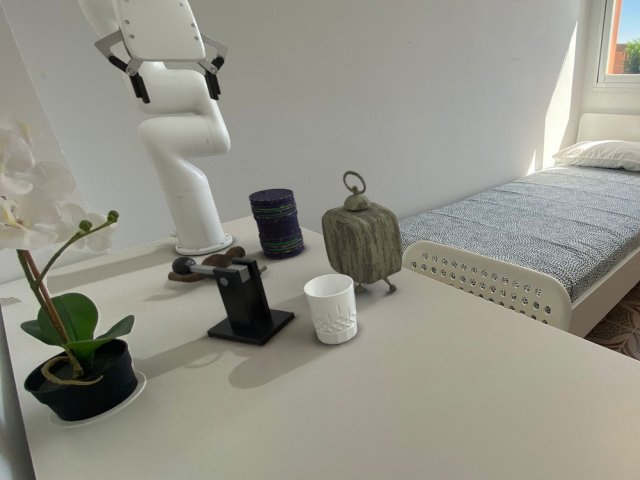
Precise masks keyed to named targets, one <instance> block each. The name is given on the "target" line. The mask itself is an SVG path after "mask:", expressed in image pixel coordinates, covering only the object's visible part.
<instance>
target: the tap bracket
mask: <svg viewBox="0 0 640 480" xmlns="http://www.w3.org/2000/svg"><path fill="white" fill-rule="evenodd" d="M231 262H232V265H233V264H237V265H245V266H247V267H248V271H249V274H250V279H248V280H246V281H245V282H242V279H241V275H240V272H239V270H236V269H228V268H221V267H216V268H214V269H212V271H213V274H214V280H215V283H216V287H217V288H218V292H219V295H220V298H221V301H222V304H223V307H224V310H225V314H226V317H225V318H223V319H222V320H221V321H219V322H218V323H216V324H215V325H213V326H212V327H211V328H209V329H208V330H206V334H207V336H208V338H212V339H213V338H214V339H220V340H224V341H231V342H236V343H241V344H247V345H253V346H257V347H258V346H259V347H263V346H264V345H265V344H267V343H268V342H269V341H270V340H271V339H273V337H275V336H276V335H277V334H278V333H279V332H281V331H282V330H283V329H285V328H286V326H288V325H289V324H290V323H291V322H292V321H293V320H294V319H295V318H296V316H295V312H293V311H286V310H280V309H274V308H270V305H269V302H268V298H267V294H266V291H265V287H264V283H263V280H262V275H260V272H259V269H260V268H259V265H258V261H257V259H254V258H246V257H243V258H239V257H234V258H232V259H231Z"/></svg>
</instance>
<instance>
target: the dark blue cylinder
mask: <svg viewBox="0 0 640 480" xmlns="http://www.w3.org/2000/svg"><path fill="white" fill-rule="evenodd" d="M294 194H295V193H294V191H293V190H292V189H290V188H269V189H262V190H258V191H255V192H252V193H251V194H249V195H248V200H249V204H250V209H251V213H252V215H253V216H252V217H253V219H254V221H255V222H256V227H257V230H258V239H259V244H260V247H261V250H262V252H263V253H262V254H263V256H264V257H263V258H265V259H268V260H275V261H276V260H277V261H279V260H288V259H291V258H294V257H297V256H299V255H301V254H303V253H304V252H305V250H306V248H305V247H306V246H305V244H304V243H305V242H304V235H303V232H302V228H301V227H300V224H299V218H298V214H299V213H298V209H297V206H298V205H297V202H296V199H295V197H294V196H295V195H294Z"/></svg>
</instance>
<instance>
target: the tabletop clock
mask: <svg viewBox="0 0 640 480" xmlns="http://www.w3.org/2000/svg"><path fill="white" fill-rule="evenodd" d="M348 175H351V176H355V177H356V178H358V179H359V180H360V182H361V184H362V186H363V189H362V190H359V187H358V186H357V185H352V187H351V186H350V185H349V184H348V183H347V179H346V178H347V176H348ZM342 182H343V184H344V186H345V188H346V189H347V190H348V191H349V192H351V193H352V194H350V195H348V196H347V197H346V198H345V200H344V201H343V205H340V206H337V207H333V208H330V209H327V210H326V211H325V213H324V214H323V215H322V216H321V229H322V236H323V242H324V246H325V247H324V248H325V252H326V256H327V259H328V263H329V265H330V267H331V268H332V269H333V271H334V272H336V274H343V275H347V276H349V277H351V278H352V280H353V283H357V285H356V286H355V287H354V290H355V292H357V293H362V292H363V291H364V286H363V285H362V284H364V285H373V284H375V283H377V282H379V281H381V280H383V281H384V282H385V283H386V284H387V285H388V286H389V287H388V289H389V291H390V292H396V291H397V290H398V286H397V285H396V284H395V283H391V281H390V280H389V278H388V277H390V276H392V275H395V274H397V273H400V272H401V271H402V268H403V244H402V243H403V242H402V237H401V231H400V230H401V229H400V226H399V222H398V218H397V216H396V213H394V212H393V211H392V210H391V209H389V208H387V207H385V206H383V205H381V204H378V203H376V202H373V201H370V199H369V198H368V197H367V196H366V195H364V194H365V193H366V191H367V184H366V181H365V179H364V177H363V176H362V175H361V174H359V172H356V171H353V170H347V171H345V172H344V174H343V175H342Z"/></svg>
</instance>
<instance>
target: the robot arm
mask: <svg viewBox="0 0 640 480" xmlns="http://www.w3.org/2000/svg"><path fill="white" fill-rule="evenodd" d="M77 2H78V3H77V4H78V5H79V6H80V9H81V11H82V13H83V15H84V16H85V19H86V20H87V21H88V23H89V25H90V26H91V28H92V29H93V30H94V31H95V33H96V34H97V35H98V37H99V38H100V39H98V40H96V41H95V42H93V46H94V48H95V49H96V50H97V51H98V52H99V53H100V54H101V55H102V56H103V57H104V58H105V59H106V61H108V63H110V64H111V65H113V66H114V67H115V68H117V69H119V72H120V75H121V76H122V79H123V81H124V84H125V86H126V90H127V91H128V94H129V96H130V98H131V100H132V102H133V104H134V105H135V107H136V108H137V110H138V111H139V112H142V113H143V114H146V115H151V116H153V115H154V116H161V117H153V118H148V119H146V120H143V121H141V122H140V123H139V124H138V127H137V128H136V129H137V130H136V133H137V138H138V140H139V142H140V144H141V146H142V148H143V150H144V152H145V154H146V155H147V157H148V159H149V161H150V163H151V165H152V167H153V169H154V172H155V175H156V177H157V180H158V182H159V184H160V187H161V190H162V193H163V195H164V198H165V202H166V205H167V207H168V209H169V213H170V215H171V218H172V221H173V223H174V224H173V225H174V226H175V227H174V228H173V231H170V233H169V236H170V237H171V238H177V241H178V242H177V243H176V244H175V246H174V247H175V251H176V253H177V254H180V255H183V256H200V255H206V254H211V253H214V252H219V251H221V250H223V249H225V248H227V247H229V246H230V245H231V244H232V243H233V237H232V235H231V234H229V233H226V232H224V230H223V227H222V223H221V220H220V217H219V213H218V210H217V206H216V203H215V200H214V197H213V194H212V190H211V187H210V183H209V181H208V177H207V176H206V174H205V173H204V171H202V170H201V169H199V168H198V167H197V166H195V165H194V164H192V163H190V162H189V160H194V159H199V158H209V157H217V156H222V155H225V154H227V153H229V151H230V150H231V147H232V146H231V145H232V142H231V138H230V135H229V131H228V128H227V127H226V123H225V120H224V118H223V116H222V113H221V111H220V107H219V106H218V102H217V101H219V100H220V98H219V95H222V91H221V88H220V85H219V80H218V76H217V74H219V70H221V68H222V67H223V65H224V64H225V60H226V58H227V57H226V56H227V53H228V48H229V47H228V46H227V45H226V44H224V43H223V42H220V41H218V40H217V39H214V38H212V37H210V36H208V35H206V34H204V33H203V32H200V29H199V27H198V24H197V21H196V18H195V15H194V13H193V10H192V8H191V5H190V3H189V1H188V0H77ZM205 45H206V46H208V47H210V48H212V49H213V50H215V55H214V57H213V59H212V60H211V62H210V61H209V60H208V59H207V58H206V57H207V55H206V49H205ZM165 63H196V64H197V65H198V66H199V67H200V68H201V69H203V70H204V72H205V73H204V75H203V74H202V73H201V72H199V71H196V70H193V69H169V68H167V67H166V66H165ZM181 114H183V115H181ZM184 114H194V115H184ZM164 115H165V116H164ZM166 115H172V116H166ZM173 115H174V116H173Z"/></svg>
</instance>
